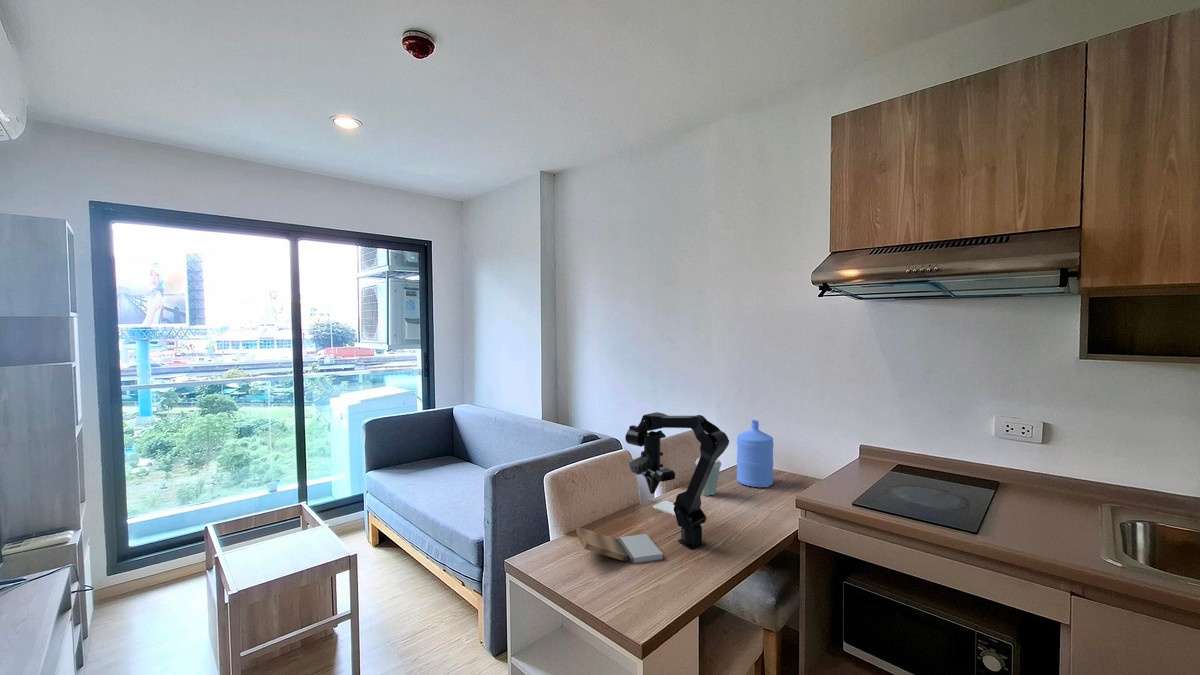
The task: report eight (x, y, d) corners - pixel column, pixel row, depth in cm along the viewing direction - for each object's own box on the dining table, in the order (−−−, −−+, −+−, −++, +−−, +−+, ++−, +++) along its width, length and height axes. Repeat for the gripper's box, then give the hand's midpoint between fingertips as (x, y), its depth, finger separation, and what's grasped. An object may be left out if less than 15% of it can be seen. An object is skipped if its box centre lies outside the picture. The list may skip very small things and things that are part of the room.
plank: (615, 543, 149) (616, 538, 149) (626, 561, 138) (628, 556, 138) (575, 531, 146) (577, 526, 146) (584, 549, 134) (586, 543, 134)
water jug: (768, 491, 198) (768, 425, 197) (732, 484, 206) (732, 422, 206) (776, 481, 211) (777, 419, 210) (742, 475, 219) (742, 416, 219)
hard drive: (652, 505, 179) (678, 514, 170) (665, 499, 185) (691, 508, 176) (652, 509, 179) (678, 519, 170) (665, 504, 185) (691, 512, 176)
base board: (646, 538, 153) (646, 533, 153) (662, 559, 140) (662, 553, 140) (616, 542, 150) (616, 537, 150) (630, 563, 137) (630, 558, 137)
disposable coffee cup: (701, 487, 202) (701, 453, 202) (725, 492, 196) (725, 457, 195) (690, 494, 193) (691, 459, 193) (715, 500, 187) (715, 463, 187)
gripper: (618, 446, 165) (618, 489, 165) (649, 459, 149) (649, 507, 149) (643, 442, 171) (643, 484, 171) (676, 454, 154) (676, 500, 155)
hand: (652, 493), depth 161 cm, fingers closed
